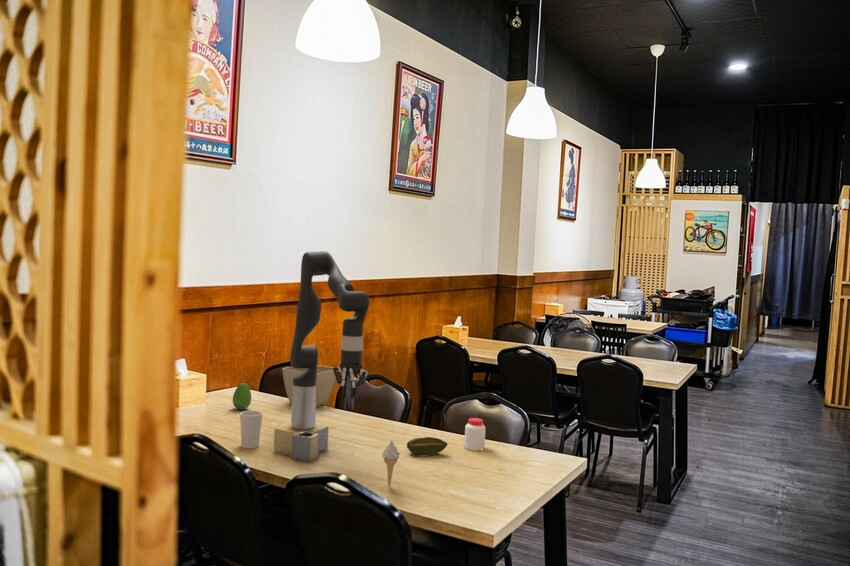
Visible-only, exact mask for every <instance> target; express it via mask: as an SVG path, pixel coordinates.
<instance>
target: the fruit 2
mask: <svg viewBox="0 0 850 566" xmlns="http://www.w3.org/2000/svg"><path fill="white" fill-rule="evenodd" d="M448 445H449V444H448V443H447V442H446V441H444V440H443V439H441V438H438V437H429V436H428V437H427V436H426V437H417V438H413V439H411V440H410V439H409V441H407V443H406V449H408V450H409V452H410V453H411V454H412V455H415V456H418V455H429V456H432V455H438V454H439V453H440V452H441V453H442V451H444V450H445V449H446V448H447V446H448Z"/></svg>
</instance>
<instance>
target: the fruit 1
mask: <svg viewBox="0 0 850 566" xmlns="http://www.w3.org/2000/svg"><path fill="white" fill-rule="evenodd" d="M251 402H252V392H251V388H250V385H249V384H248V383H247V382H240V383H239V384H238V385H237V386H236V389H235V390H234V393H233V396H232V404H233V406H234V408H235V409H237V410H238V411H246V409H247V408H248V407H250V404H251Z"/></svg>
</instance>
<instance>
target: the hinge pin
mask: <svg viewBox="0 0 850 566" xmlns="http://www.w3.org/2000/svg"><path fill="white" fill-rule="evenodd" d="M354 378H355V377H354ZM352 388H353V387H352V381H351V376H350V375H346V391H345V397H344V409H345V410H347V411H348V410H350V411H351V410H354V404H355V403H354V400H355V398H352Z"/></svg>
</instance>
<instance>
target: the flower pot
mask: <svg viewBox="0 0 850 566" xmlns="http://www.w3.org/2000/svg"><path fill="white" fill-rule="evenodd" d="M333 368H334V367H331V366H325V365H319V364H317V375H316V394H315V402H316V408H317V407H320V406H323V405H326V404H327V403H328V401H329V398H330V396H331V393H332V391H333V388H334V386H335V385H334V384H335V382H336V377H335V374H334V371H333ZM307 370H308V368H293V367H292V366H291V365H290V366H287V367H283V368H282V378H283V383H284V388H285V392H286V395H287V399H288V402H289V404H290V405H292V396H293V379H294V378H295V377H296V376H299V375H301V374H303V373H305V372H306V371H307Z"/></svg>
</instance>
